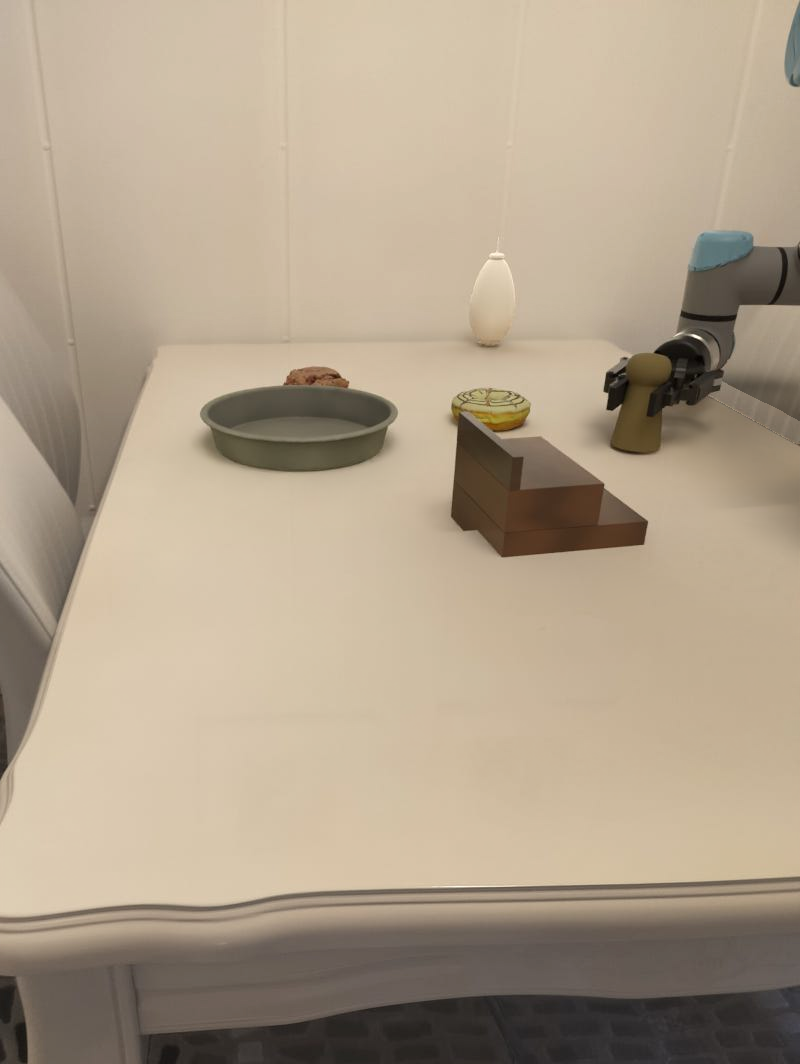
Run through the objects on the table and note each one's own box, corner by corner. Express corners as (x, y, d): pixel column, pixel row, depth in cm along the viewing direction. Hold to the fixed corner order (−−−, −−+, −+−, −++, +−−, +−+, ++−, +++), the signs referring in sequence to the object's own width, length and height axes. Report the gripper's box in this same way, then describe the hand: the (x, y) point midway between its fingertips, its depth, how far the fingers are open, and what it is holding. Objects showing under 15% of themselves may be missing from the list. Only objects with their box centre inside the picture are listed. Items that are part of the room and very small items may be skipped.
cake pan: (407, 421, 125) (409, 388, 122) (380, 483, 104) (382, 444, 102) (234, 410, 129) (232, 378, 127) (174, 468, 108) (171, 430, 106)
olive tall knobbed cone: (603, 446, 114) (617, 355, 109) (619, 433, 119) (634, 346, 113) (651, 454, 111) (669, 362, 106) (666, 442, 116) (684, 353, 110)
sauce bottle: (458, 344, 166) (466, 236, 157) (485, 338, 171) (494, 233, 162) (492, 352, 161) (502, 241, 152) (519, 345, 166) (531, 237, 157)
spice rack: (575, 506, 98) (590, 404, 92) (641, 560, 86) (663, 447, 81) (450, 516, 95) (458, 411, 90) (500, 573, 84) (513, 457, 78)
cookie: (334, 379, 145) (334, 359, 143) (357, 396, 136) (357, 375, 134) (273, 383, 142) (273, 364, 140) (293, 401, 133) (292, 380, 132)
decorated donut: (530, 413, 128) (533, 386, 126) (526, 436, 119) (530, 407, 117) (455, 408, 130) (457, 381, 128) (446, 430, 121) (448, 401, 119)
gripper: (743, 400, 123) (699, 445, 106) (616, 382, 131) (557, 422, 114) (756, 342, 119) (713, 380, 102) (625, 327, 127) (565, 360, 110)
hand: (631, 402), depth 108 cm, fingers closed on olive tall knobbed cone, 4 cm apart
